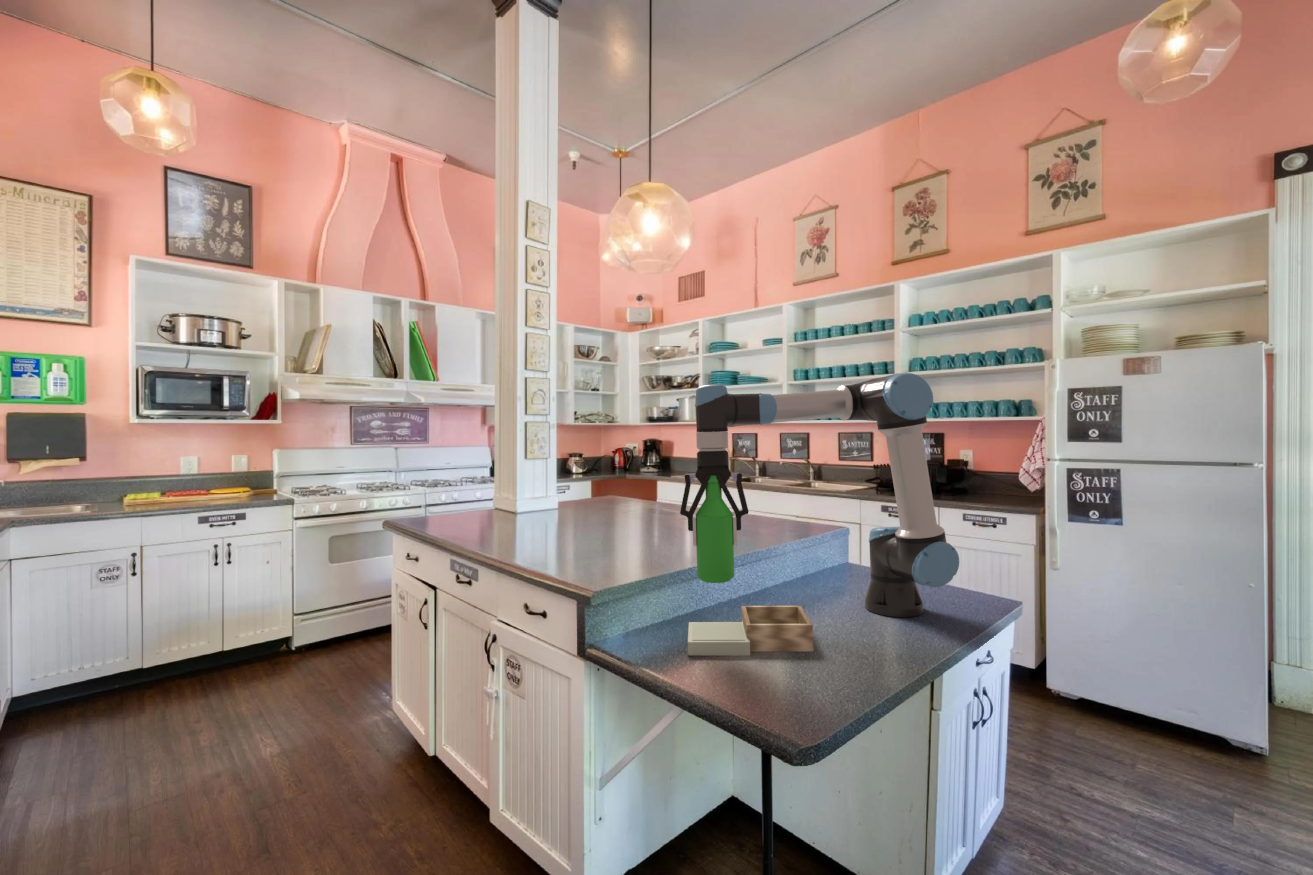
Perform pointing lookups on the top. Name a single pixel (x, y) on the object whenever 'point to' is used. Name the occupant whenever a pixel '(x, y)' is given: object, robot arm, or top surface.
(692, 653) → the stand block
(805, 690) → the top surface
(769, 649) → the open square wooden frame
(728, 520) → the bottle
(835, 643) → the top surface
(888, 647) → the top surface
